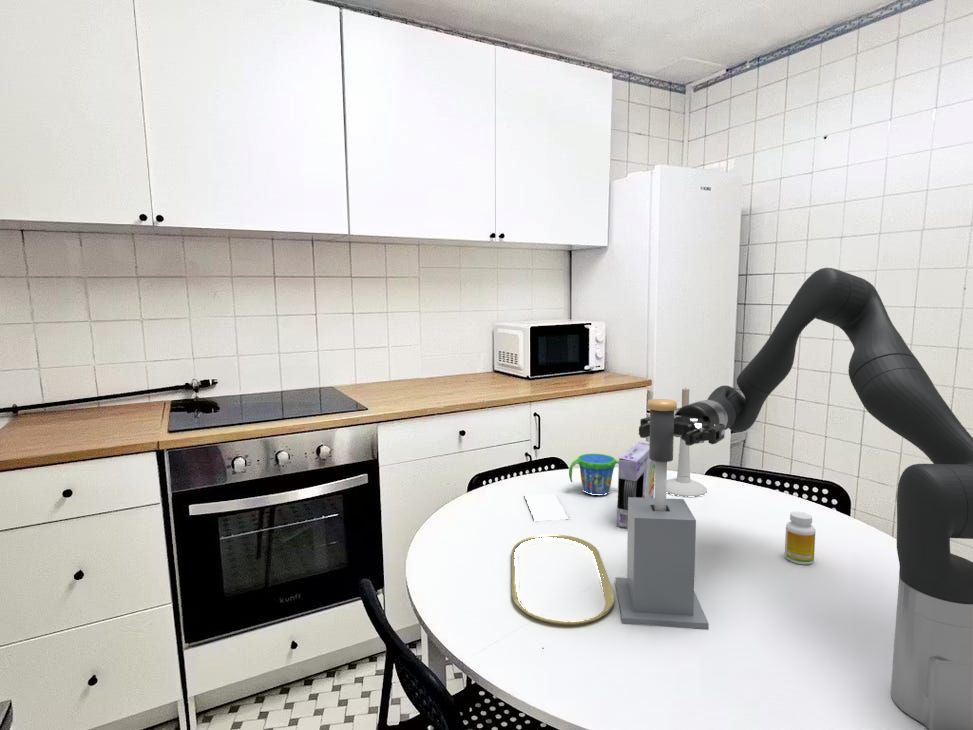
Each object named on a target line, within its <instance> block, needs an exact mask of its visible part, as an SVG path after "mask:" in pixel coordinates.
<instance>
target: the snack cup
mask: <svg viewBox="0 0 973 730" xmlns="http://www.w3.org/2000/svg"><path fill="white" fill-rule="evenodd" d="M616 464H618V465H619V460H617V459H615V457H613V456H612V455H608V454H605V453H604V454H603V453H585V454H581V455H579V456H578V457H577V459H575V460H573V461H572V462H571V464H570V466H569V470H568V476H569V480H570V482H571V483H573V477H572V476H573V467H574V466H575V465H578V466H579V470H580V471H579V472H580V478H581V485H582V486H581V488H582V491H583V490H584V491H586V492H588V493H592V494H605V493H608V492H609V493H610V491H611V485H612V479H613V475H614V470H615V466H616ZM609 493H608V494H609Z"/></svg>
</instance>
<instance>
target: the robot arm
mask: <svg viewBox="0 0 973 730" xmlns="http://www.w3.org/2000/svg"><path fill="white" fill-rule="evenodd" d="M886 309H887V308H886V307H885V305H884V302H883V301H882V298H881V296H880V295H879V292H878V291H877V289H876V287H875V286H874V285H873V284H872V283H871V282H870V281H868V280H866V279H865V278H862V277H859V276H856V275H854V274H851V273H848V272H845V271H843V270H839V269H837V268H832V267H822V268H819V269H818V270H817V269H816V270H815V271H814V272H813V273H812V274H811V275H810V276H808V278H807V279H805V281H804V282H803V283H802V285H801V286H800V288H799V289H798V290H797V292H796V294H795V295H794V296H793V298H792V300H791V301H790V303H789V305H788V306H787V308H786V310H785V311H784V313H783V314H782V316H781V317H780V319H779V321H778V323H777V324H776V326H775V327H774V329H773V331H772V333H771V334H770V336H769V337H768V339H767V341H766V342H765V344H764V345H763V346H762V347H761V349H760V350H759V351H758V353H757V354H756V355H755V356H754V357H753V358H752V359H751V360H750V361H749V363H748V364H747V365H746V366H745V367H744V368H743V369H742V370H741V371H740V373H739V374H738V376H737V377H736V385H737V386H738V388H739V390H740V391H741V393H742V394H743V395H742V394H740V392H739V391H738V390H736V389H735V388H733V387H732V386H729V385H720V386H719V387H717V388H715V389H714V390H713V391H712V392H711V394H710V395H709V396H708V398H707V399H706V400H704V399H703V400H699V401H695V402H692V403H689V405H686V406H683V407H682V406H681V407H680V408H679V409H678V410H677V411H675V412H676V413H674V438H679V439H680V438H681V439H682V440H684V441H685V444H686V445H689V447H691V446H693V445H695V444H704V443H705V442H708V444H710V445H715V444H717V443H719V442H720V441H723V440H724V439H725V435H726V433H725V432H726V430H728V429H729V430H731V432H734V433H743V432H745V431H747V430H749V429H750V428H751V427H752V426H753V425H754V424H755V422H756V420H757V418H758V416H759V415H760V412H761V410H762V407H763V405H764V404H765V402H766V400H767V398H768V397H769V396H770V395H771V394H772V392H774V390H775V389H776V388H777V387H778V386H779V385H780V384H781V383H782V382H783V381H784V380H785V378H787V376H788V375H789V374H790V372H791V370H792V368H793V365H794V362H795V355H796V348H797V344H798V340H799V338H800V336H801V334H802V332H803V331H804V329H805V328H806V327H807V326H808V325H809V324H810V323H811V322H813V321H814V320H815V319H816V320H820V321H822V322H825V323H829V324H831V325H833V326H836V327H838V328H839V329H841V330H842V332H844V333H845V335H846V337H847V338H848V340H849V341H850V342H851V344H852V347H853V349H854V350H853V352H852V354H851V357H850V359H849V363H848V371H847V372H848V378H849V379H850V382H851V385H852V387H853V388H854V390H855V393H856V395H857V396H858V398H859V400H860V403H862V405H863V407H864V408H865V410H866V411H867V412H868V413H869V414H870V415H871V416H872V417H873V418H874V419H876V421H878V422H879V423H881V424H882V425H884V426H886V427H887V428H888V429H889V430H891V431H892V432H894V433H895V434H897V435H899V436H900V437H902V438H903V439H904V440H906V441H908V442H910V443H911V444H912V445H913V446H915V447H916V448H918V449H919V450H920V451H921V452H922V453H924V455H925V456H926V457H927V458H928V459H929V460H930V461H931V462H932V463H915V464H914V463H913V464H912V465H909V466H907V467H906V468H905V469H904V470H903V471H902V473H901V474H900V477H899V481H898V484H897V490H896V552H897V557H898V564H899V565H898V566H899V569H898V570H899V572H898V573H899V574H898V587H897V588H898V589H897V590H898V591H897V599H896V600H897V602H896V614H895V627H894V642H893V653H892V669H891V670H892V671H891V683H890V684H891V685H890V696H891V697H890V698H892V700H893V702H894V703H895V705H896V706H897V707H898V708H899V709H900V710H901V711H903V712H904V713H905V714H906V715H908V716H909V717H911V718H912V719H914V720H916V721H917V722H919V723H921V724H922V725H923V726H925V728H927V730H973V561H971V560H969V559H966V558H964V557H962V556H959V555H956V554H953V553H951V539H963V540H964V539H965V540H973V436H972V435H971V434H970V433H969V432H968V430H967V429H966V428H965V426H963V424H962V423H961V422H960V421H959V419H958V417H956V415H955V414H954V412H953V410H952V409H951V408H950V407H949V405H948V404H947V403H946V401H945V400H944V398H943V397H942V395H941V394H940V393H939V391H938V390H937V388H936V387H935V385H934V382H933V381H932V379H931V377H930V376H929V375H928V373H927V372H926V369H924V367H923V365H922V364H921V363H920V361H919V360H918V359H917V357H916V356H915V354H914V353H913V352H912V350H911V349H910V347H908V345H907V343H906V341H905V340H904V339H903V337H902V336H901V334H900V332H899V331H898V330H897V329H896V327H895V326H894V324H893V322H892V320H891V318H890V316H889V314H888V312H887V310H886ZM639 420H640V422H639V423H640V424H639V425H640V426H638V435H639V437H640V438H643V439H645V438H646V439H647V437H650V416H647V417H643V418H641V419H639Z"/></svg>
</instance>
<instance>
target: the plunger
mask: <svg viewBox="0 0 973 730" xmlns="http://www.w3.org/2000/svg"><path fill="white" fill-rule="evenodd" d="M677 406H678V402H677V401H676V400H674V399H666V398H654V399H653V398H651V399H648V400H647V409H649V417H650V436H649V441H648V442H649V459H651V460H653V461H655V476H654V511H666V498H667V493H666V485H667V480H668V479H667V477H668V476H667V475H668V463H669V462H672V461H673V460H674V441H675V440H674V438H675V436H674V415H675V411H676V410H677V409H678V407H677Z"/></svg>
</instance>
